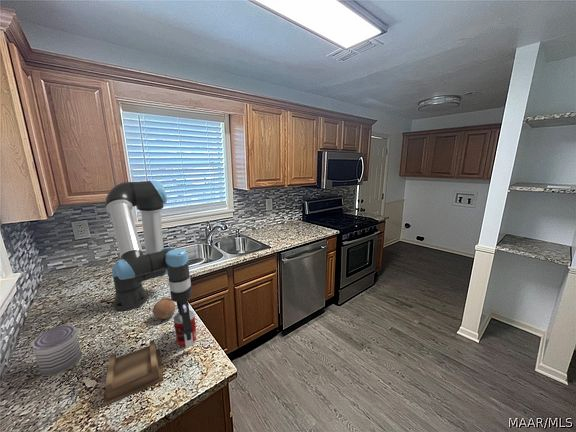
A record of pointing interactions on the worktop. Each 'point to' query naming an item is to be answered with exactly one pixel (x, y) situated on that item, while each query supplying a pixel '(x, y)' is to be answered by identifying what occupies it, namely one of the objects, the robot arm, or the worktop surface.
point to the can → (57, 349)
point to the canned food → (180, 329)
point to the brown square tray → (132, 373)
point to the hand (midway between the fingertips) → (186, 335)
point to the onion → (164, 308)
